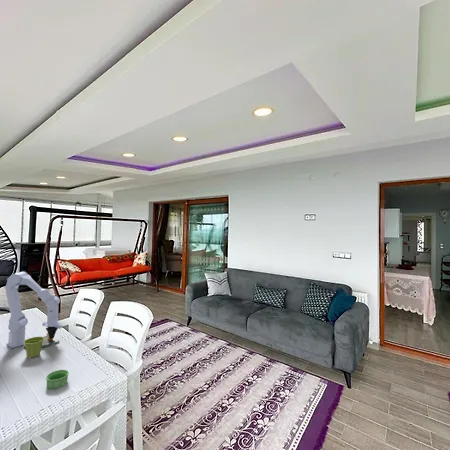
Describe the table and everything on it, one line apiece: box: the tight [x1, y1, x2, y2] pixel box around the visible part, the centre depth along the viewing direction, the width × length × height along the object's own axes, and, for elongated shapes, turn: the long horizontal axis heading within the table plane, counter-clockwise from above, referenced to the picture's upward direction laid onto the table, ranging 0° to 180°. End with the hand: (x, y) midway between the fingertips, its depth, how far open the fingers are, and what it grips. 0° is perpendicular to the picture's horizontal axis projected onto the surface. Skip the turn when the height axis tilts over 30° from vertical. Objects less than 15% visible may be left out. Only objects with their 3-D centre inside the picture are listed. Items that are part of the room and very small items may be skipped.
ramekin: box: [45, 369, 70, 390], centre depth 122 cm, size 9×9×4 cm
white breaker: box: [42, 335, 48, 345], centre depth 160 cm, size 3×3×4 cm
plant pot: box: [24, 336, 44, 358], centre depth 149 cm, size 9×9×9 cm
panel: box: [23, 337, 60, 350], centre depth 162 cm, size 10×15×2 cm, turn 146°
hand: (51, 338), depth 166 cm, fingers closed
